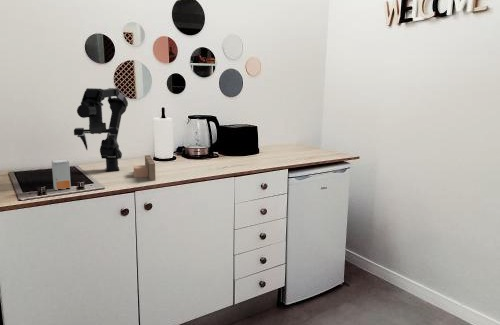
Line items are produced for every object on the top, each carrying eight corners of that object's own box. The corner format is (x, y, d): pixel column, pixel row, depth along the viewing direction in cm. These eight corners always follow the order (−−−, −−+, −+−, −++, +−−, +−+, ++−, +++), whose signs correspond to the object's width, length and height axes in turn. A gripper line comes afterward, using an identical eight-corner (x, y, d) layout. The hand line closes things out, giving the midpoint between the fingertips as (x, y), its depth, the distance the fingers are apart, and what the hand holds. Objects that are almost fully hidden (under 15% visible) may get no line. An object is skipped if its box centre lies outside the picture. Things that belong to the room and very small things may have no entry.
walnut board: (145, 170, 187) (144, 155, 185) (150, 170, 188) (149, 155, 186) (149, 180, 168) (149, 163, 166) (155, 180, 168) (154, 163, 167)
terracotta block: (133, 174, 179) (133, 165, 178) (146, 174, 181) (146, 165, 180) (134, 177, 173) (134, 168, 172) (147, 176, 175) (147, 167, 174)
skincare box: (55, 191, 149) (52, 162, 146) (53, 188, 152) (51, 160, 149) (71, 188, 152) (69, 160, 150) (69, 186, 155) (67, 159, 153)
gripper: (71, 117, 157) (74, 153, 160) (117, 117, 163) (119, 151, 167) (73, 115, 167) (76, 149, 170) (116, 115, 174) (118, 147, 177)
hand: (97, 149), depth 171 cm, fingers open, 9 cm apart
